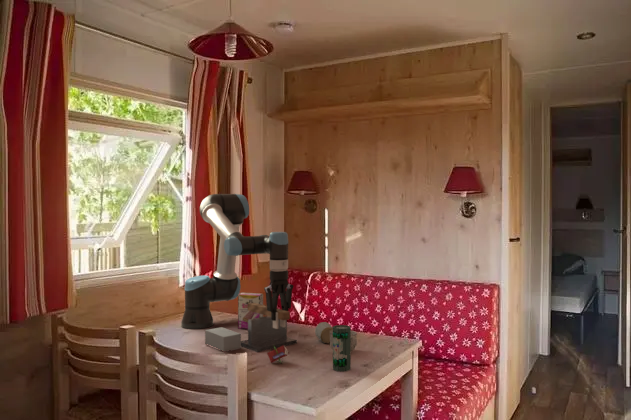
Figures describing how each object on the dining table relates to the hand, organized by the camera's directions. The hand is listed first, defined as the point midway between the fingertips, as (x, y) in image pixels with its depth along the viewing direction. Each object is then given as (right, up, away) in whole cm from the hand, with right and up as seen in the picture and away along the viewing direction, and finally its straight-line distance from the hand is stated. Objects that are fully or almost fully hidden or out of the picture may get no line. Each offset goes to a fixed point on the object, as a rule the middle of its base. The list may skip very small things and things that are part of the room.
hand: (279, 327), depth 217 cm
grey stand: (-24, -9, +3) cm, 25 cm away
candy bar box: (-16, -8, +34) cm, 38 cm away
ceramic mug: (+20, -9, +11) cm, 25 cm away
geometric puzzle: (+1, -9, -19) cm, 21 cm away
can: (+24, -9, -27) cm, 37 cm away
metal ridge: (-5, -8, +6) cm, 12 cm away
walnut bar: (-5, +4, +6) cm, 9 cm away
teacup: (+26, -9, -6) cm, 29 cm away
